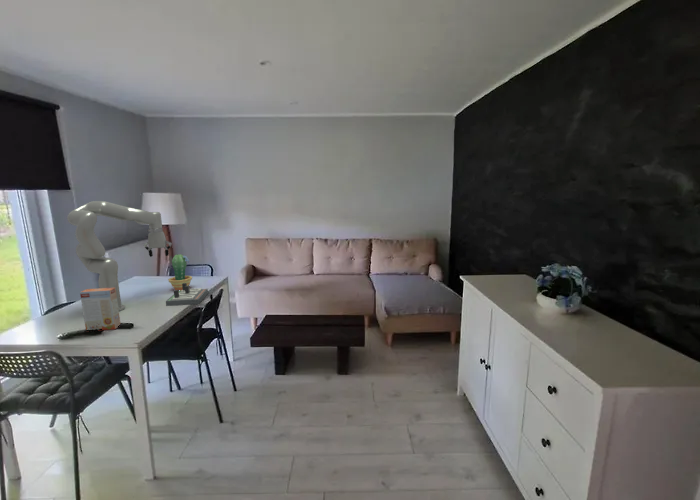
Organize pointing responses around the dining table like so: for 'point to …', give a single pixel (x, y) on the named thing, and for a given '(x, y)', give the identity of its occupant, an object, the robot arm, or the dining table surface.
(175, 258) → the potted cactus
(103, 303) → the cracker box
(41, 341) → the dining table surface
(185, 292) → the breaker handle
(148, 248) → the robot arm
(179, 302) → the breaker panel
